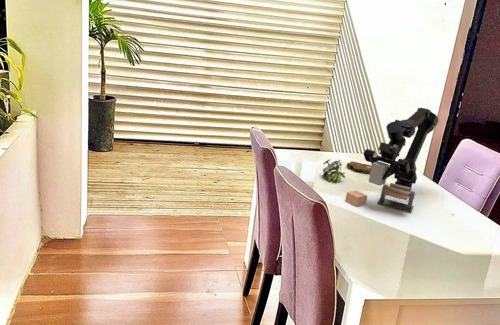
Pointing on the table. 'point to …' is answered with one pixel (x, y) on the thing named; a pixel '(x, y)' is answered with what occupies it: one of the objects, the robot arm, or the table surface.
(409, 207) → the trapdoor frame
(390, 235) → the table surface
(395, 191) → the trapdoor
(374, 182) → the slate block
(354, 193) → the plinth
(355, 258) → the table surface
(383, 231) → the table surface
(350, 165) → the decorative rock
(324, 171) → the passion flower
